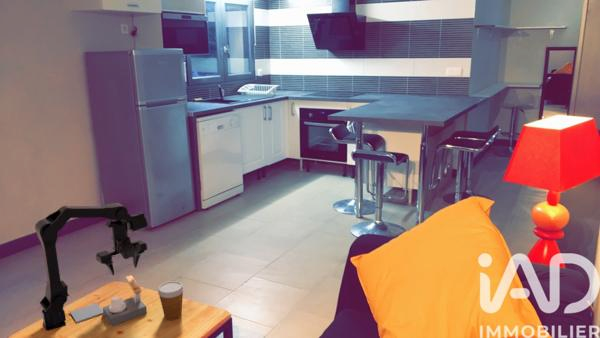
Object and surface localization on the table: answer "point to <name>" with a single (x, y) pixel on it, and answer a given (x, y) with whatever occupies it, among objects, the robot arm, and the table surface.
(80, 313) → the mat
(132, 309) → the socket base
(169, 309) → the disposable coffee cup
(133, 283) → the light orange flat bar
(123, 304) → the plug
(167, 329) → the table surface
